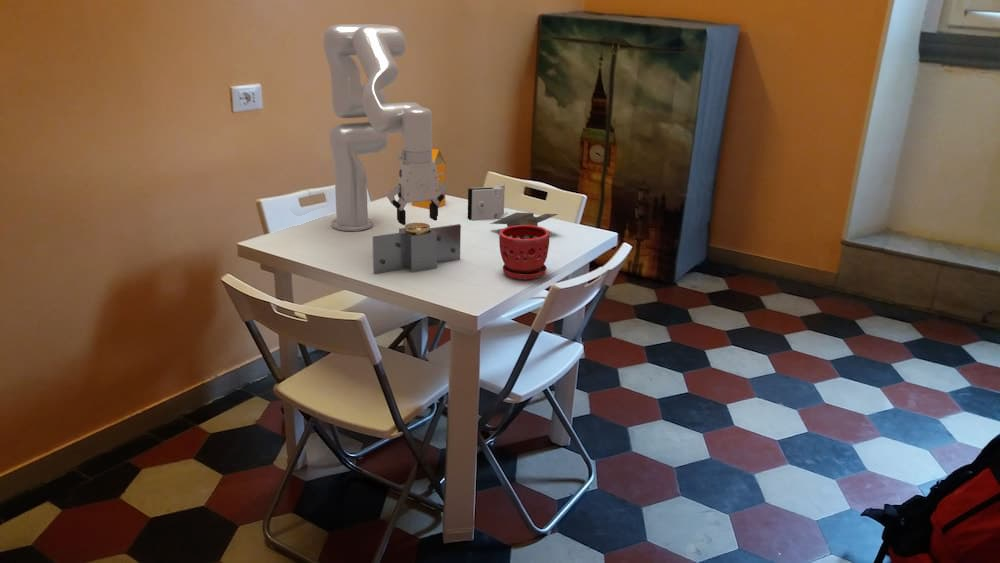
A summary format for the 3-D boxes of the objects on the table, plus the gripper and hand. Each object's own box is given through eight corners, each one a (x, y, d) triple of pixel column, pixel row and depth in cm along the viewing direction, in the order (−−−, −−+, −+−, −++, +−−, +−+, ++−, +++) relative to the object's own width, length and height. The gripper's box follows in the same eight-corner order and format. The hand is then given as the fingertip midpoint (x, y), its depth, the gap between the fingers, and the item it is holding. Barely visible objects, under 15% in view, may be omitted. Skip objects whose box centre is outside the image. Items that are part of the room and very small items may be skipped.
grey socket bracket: (368, 268, 208) (367, 233, 204) (453, 254, 221) (453, 220, 217) (379, 277, 202) (379, 241, 198) (466, 262, 215) (466, 228, 211)
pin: (401, 262, 212) (400, 224, 208) (423, 258, 215) (423, 221, 211) (411, 269, 207) (411, 231, 203) (434, 266, 210) (434, 227, 206)
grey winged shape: (493, 248, 240) (517, 227, 228) (488, 223, 242) (511, 200, 230) (538, 249, 248) (563, 229, 236) (532, 225, 251) (557, 203, 239)
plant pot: (526, 262, 217) (528, 221, 212) (557, 276, 207) (560, 233, 203) (488, 271, 209) (489, 228, 205) (518, 286, 200) (520, 241, 195)
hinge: (502, 213, 262) (503, 184, 258) (510, 217, 257) (511, 188, 254) (465, 218, 255) (466, 188, 252) (473, 222, 251) (473, 192, 247)
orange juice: (432, 210, 263) (432, 150, 256) (411, 205, 267) (410, 147, 260) (445, 205, 269) (446, 147, 262) (425, 200, 273) (424, 143, 266)
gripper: (392, 162, 193) (393, 229, 199) (454, 156, 202) (453, 221, 208) (380, 156, 199) (381, 221, 205) (440, 151, 208) (440, 214, 214)
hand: (417, 221), depth 207 cm, fingers open, 8 cm apart
